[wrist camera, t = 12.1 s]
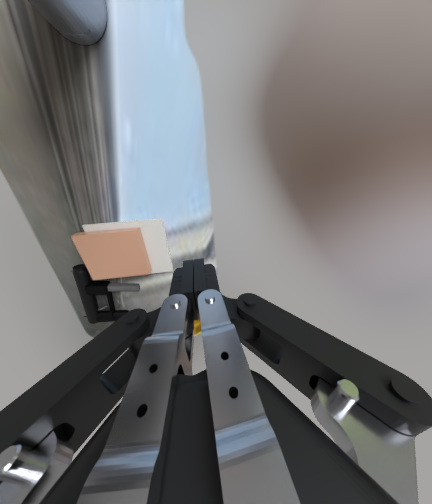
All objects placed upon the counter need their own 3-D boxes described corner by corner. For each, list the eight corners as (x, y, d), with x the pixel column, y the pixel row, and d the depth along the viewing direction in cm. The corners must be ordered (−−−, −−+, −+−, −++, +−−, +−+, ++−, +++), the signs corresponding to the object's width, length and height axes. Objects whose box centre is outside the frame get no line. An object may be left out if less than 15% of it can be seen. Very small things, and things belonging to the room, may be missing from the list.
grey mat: (83, 224, 36) (82, 225, 36) (162, 218, 38) (161, 218, 37) (107, 277, 43) (106, 278, 42) (173, 270, 44) (173, 271, 44)
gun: (135, 270, 41) (63, 269, 37) (141, 323, 50) (82, 326, 46) (138, 264, 44) (71, 262, 40) (143, 314, 53) (89, 317, 49)
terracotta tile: (140, 226, 37) (78, 232, 36) (136, 230, 35) (70, 236, 34) (152, 268, 43) (98, 274, 42) (149, 274, 41) (93, 280, 39)
